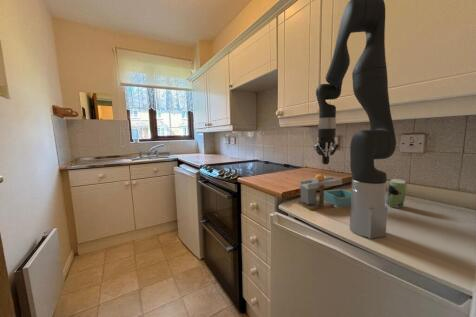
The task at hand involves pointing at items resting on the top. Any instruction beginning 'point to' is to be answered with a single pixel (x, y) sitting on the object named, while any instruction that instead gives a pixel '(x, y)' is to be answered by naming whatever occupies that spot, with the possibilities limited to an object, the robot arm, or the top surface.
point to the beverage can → (396, 193)
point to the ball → (319, 177)
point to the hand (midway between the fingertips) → (325, 164)
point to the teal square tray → (338, 197)
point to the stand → (318, 201)
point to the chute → (310, 188)
